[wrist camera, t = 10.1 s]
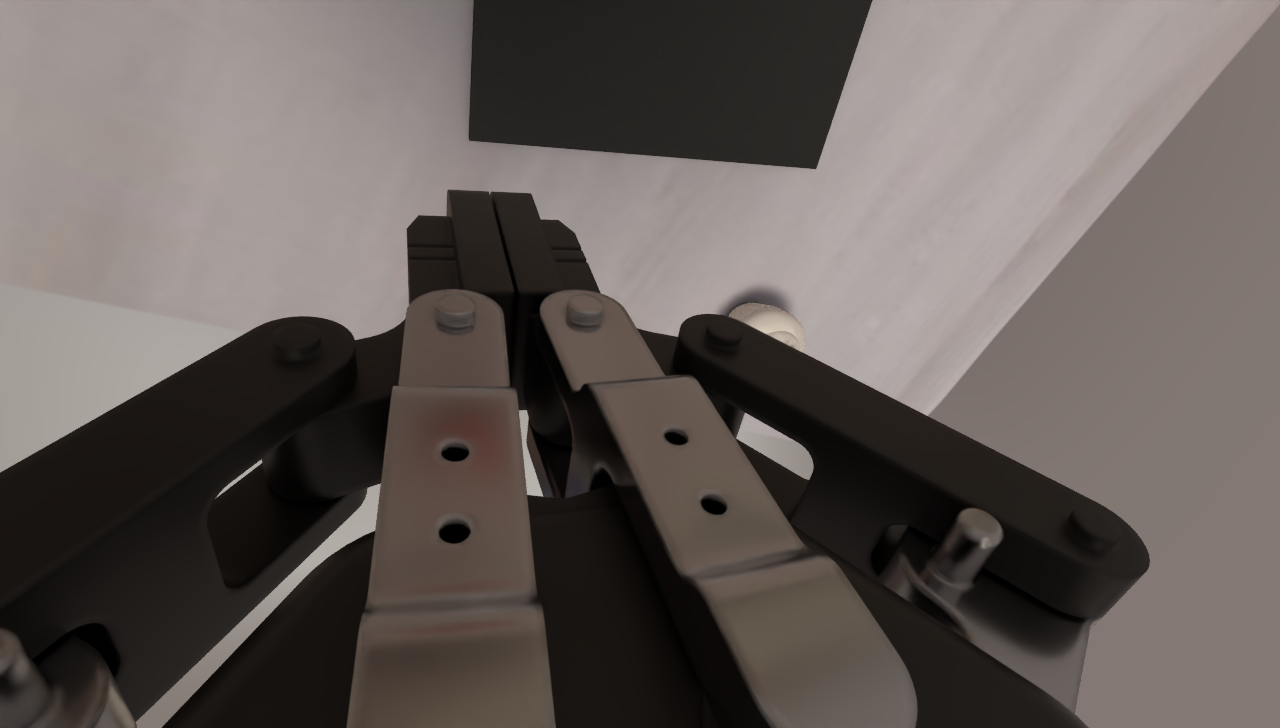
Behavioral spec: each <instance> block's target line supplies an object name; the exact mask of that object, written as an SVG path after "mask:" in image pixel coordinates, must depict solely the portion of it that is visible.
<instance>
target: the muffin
mask: <svg viewBox="0 0 1280 728" xmlns="http://www.w3.org/2000/svg"><path fill="white" fill-rule="evenodd" d="M727 317H731V318H734V319H737V320H739V321H741V322H744V323H746V324H747V325H749V326H751V327H753V328H755V329H757V330H759V331H761V332H763V333H765V334H767V335H769V336H771V337H773V338H775V339H777V340H779V341H781V342H783V343H785V344H787V345H789V346H791V347H793V348H795V349H797V350H799V351H800V352H803V349H804V346H805V334H804V330H803V327H802V325H801V323H800V322H799V321H798V319H797V318H795V317H794V316H793V315H791V314H790V313H788V312H786V311H783V309H779V308H778V307H775V306H770V305H764V304H759V303H754V302H752V303H749V302H748V303H747V304H744V303H743V304H742V305H739V306H738V307H735V309H734V310H732V312H731V313H729V316H727Z"/></svg>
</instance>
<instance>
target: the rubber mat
mask: <svg viewBox="0 0 1280 728" xmlns="http://www.w3.org/2000/svg"><path fill="white" fill-rule="evenodd" d="M871 3H872V0H474V10H473V37H472V64H471V90H470V117H469V140H470V141H481V142H493V143H505V144H517V145H529V146H542V147H554V148H566V149H578V150H590V151H603V152H615V153H627V154H639V155H652V156H664V157H676V158H688V159H700V160H713V161H725V162H737V163H749V164H761V165H774V166H786V167H798V168H810V169H816V168H817V165H818V162H819V159H820V156H821V153H822V150H823V147H824V144H825V141H826V138H827V135H828V132H829V129H830V126H831V123H832V120H833V117H834V114H835V111H836V108H837V105H838V102H839V99H840V96H841V93H842V90H843V87H844V84H845V81H846V78H847V75H848V72H849V69H850V66H851V63H852V60H853V57H854V54H855V51H856V48H857V45H858V42H859V39H860V36H861V33H862V30H863V27H864V24H865V21H866V18H867V15H868V12H869V9H870V6H871Z"/></svg>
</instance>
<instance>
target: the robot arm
mask: <svg viewBox="0 0 1280 728" xmlns="http://www.w3.org/2000/svg"><path fill="white" fill-rule="evenodd" d="M407 251H408V287H409V306H408V308H407V312H406V318H405V320H404V321H403V322H402V323H401V324H399V325H398V326H396V327H395V328H393V329H391V330H389V331H387V332H385V333H382V334H380V335H376V336H373V337H369V338H364V339H359V340H354V337H353V335H352V333H351V332H350V331H349V330H348V329H347V328H345V327H344V326H343V325H341V324H339V323H337V322H334V321H331V320H328V319H324V318H318V317H305V316H299V317H288V318H282V319H278V320H274V321H270V322H268V323H265V324H262V325H260V326H258V327H256V328H254V329H252V330H251V331H249V332H247V333H245V334H244V335H242V336H240V337H238V338H237V339H235V340H233V341H231V342H230V343H228V344H226V345H224V346H223V347H221V348H219V349H217V350H215V351H214V352H212V353H210V354H209V355H207V356H205V357H203V358H201V359H200V360H198V361H196V362H194V363H193V364H191V365H189V366H187V367H185V368H184V369H182V370H180V371H178V372H177V373H175V374H173V375H171V376H170V377H168V378H166V379H164V380H163V381H161V382H159V383H157V384H156V385H154V386H152V387H150V388H149V389H147V390H145V391H143V392H141V393H140V394H138V395H136V396H134V397H133V398H131V399H129V400H127V401H126V402H124V403H122V404H121V405H119V406H117V407H115V408H113V409H112V410H110V411H108V412H106V413H105V414H103V415H101V416H99V417H98V418H96V419H94V420H92V421H91V422H89V423H87V424H85V425H84V426H82V427H80V428H78V429H76V430H75V431H73V432H72V433H69V434H68V435H66V436H65V437H62V438H60V439H59V440H57V441H55V442H53V443H52V444H50V445H48V446H46V447H45V448H43V449H41V450H39V451H38V452H36V453H34V454H32V455H31V456H29V457H27V458H25V459H24V460H22V461H20V462H18V463H16V464H15V465H13V466H11V467H9V468H8V469H6V470H4V471H2V472H1V473H0V728H137V725H136V721H137V720H138V719H139V718H140V717H141V716H142V715H143V714H145V712H147V711H148V710H149V709H150V708H151V707H152V706H153V705H154V704H155V703H156V702H157V701H158V700H159V699H160V698H161V697H162V696H163V695H164V694H165V693H166V692H167V691H169V690H170V688H172V687H173V686H174V685H175V684H176V683H177V682H178V681H179V680H180V679H181V678H182V677H183V676H184V675H185V674H186V673H187V672H188V671H189V670H190V669H191V668H192V667H194V665H196V664H197V663H198V661H200V660H201V659H202V658H203V657H204V656H205V655H206V654H207V653H208V652H209V651H210V650H211V649H212V648H213V647H214V646H215V645H216V644H218V643H219V641H221V640H222V639H223V638H224V637H225V636H226V635H227V634H228V633H229V632H230V631H231V630H232V629H233V628H234V627H235V626H236V625H237V624H238V623H239V622H240V621H242V620H243V619H244V618H245V617H246V616H247V615H248V614H249V613H250V612H251V611H252V610H253V609H254V608H255V607H256V606H257V605H258V604H259V603H260V602H261V601H262V600H263V599H264V598H265V597H267V596H268V595H269V594H270V593H271V592H272V591H273V590H274V589H275V588H276V587H277V586H278V585H279V584H280V583H281V582H282V581H283V580H284V579H285V578H286V577H287V576H288V575H289V574H291V573H292V572H293V571H294V570H295V569H296V568H297V567H298V566H299V565H300V564H301V563H302V562H303V561H304V560H305V559H306V558H307V557H308V556H309V555H310V554H311V553H312V552H313V551H314V550H316V549H317V548H318V547H319V546H320V545H321V544H322V543H323V542H324V541H325V540H326V539H327V538H328V537H329V536H330V535H331V534H332V533H333V532H334V531H335V530H336V529H337V528H338V527H339V526H340V525H342V524H343V523H344V522H345V521H346V520H347V519H348V518H349V517H350V516H351V515H352V514H353V513H354V512H355V511H356V510H357V509H358V508H359V507H360V506H361V504H362V503H363V501H364V499H365V497H366V494H367V488H368V487H371V486H373V485H377V484H380V483H381V487H380V496H379V505H378V513H377V521H376V530H375V531H374V532H371V533H369V534H366V535H364V536H362V537H361V538H359V539H357V540H355V541H353V542H352V543H349V544H347V545H346V546H345V547H343V548H341V549H340V550H339V551H337V552H335V553H334V554H332V555H331V556H330V557H328V558H327V559H326V560H324V561H323V562H322V563H321V564H320V565H318V566H317V567H316V568H315V569H314V570H313V571H311V572H310V573H309V574H308V575H307V576H306V577H305V578H304V579H303V580H302V582H300V583H299V585H298V586H296V588H295V589H294V590H293V591H292V592H291V593H290V594H289V595H288V596H287V597H286V598H285V599H284V600H283V601H282V602H281V603H280V604H279V605H278V607H277V608H275V610H274V611H273V612H272V613H271V614H270V615H269V616H268V617H267V618H266V619H265V620H264V621H263V622H262V623H261V624H260V625H259V626H258V628H256V630H254V632H253V633H252V634H251V635H250V636H249V637H248V638H247V639H246V640H245V641H244V642H243V643H242V644H241V645H240V646H239V647H238V648H237V649H236V650H235V651H234V652H233V654H232V655H231V656H230V657H229V658H228V659H227V660H226V661H225V662H224V663H223V664H222V665H221V666H220V667H219V668H218V669H217V670H216V671H215V672H214V674H212V675H211V677H210V678H209V679H208V680H207V681H206V682H205V683H204V684H203V685H202V686H201V687H200V688H199V689H198V690H197V691H196V692H195V693H194V694H193V695H192V696H191V697H190V699H189V700H188V701H187V702H186V703H185V704H184V705H183V706H182V707H181V708H180V709H179V710H178V711H177V712H176V713H175V714H174V715H173V717H171V719H169V720H168V722H167V723H166V724H165V725H164V726H163V727H162V728H1088V727H1087V726H1086V725H1085V724H1084V723H1083V722H1082V721H1081V720H1080V719H1079V718H1078V717H1077V716H1076V715H1075V714H1074V713H1075V708H1076V703H1077V697H1078V692H1079V686H1080V681H1081V675H1082V669H1083V664H1084V659H1085V653H1086V648H1087V642H1088V637H1089V631H1090V630H1091V629H1092V628H1093V627H1094V626H1095V625H1096V623H1097V622H1098V621H1099V620H1100V619H1101V618H1102V617H1103V616H1104V615H1105V614H1106V613H1107V612H1108V611H1109V610H1110V609H1111V608H1112V607H1113V606H1114V605H1115V604H1116V603H1117V602H1118V600H1119V599H1120V598H1121V597H1122V596H1123V595H1124V594H1125V593H1126V592H1127V591H1128V590H1129V589H1130V588H1131V587H1132V586H1133V585H1134V584H1135V582H1137V580H1139V578H1140V577H1141V576H1142V575H1143V574H1144V573H1145V572H1146V571H1147V569H1148V567H1149V563H1150V559H1149V554H1148V551H1147V549H1146V546H1145V545H1144V543H1143V542H1142V540H1141V538H1140V537H1139V536H1138V534H1137V533H1136V532H1135V531H1134V530H1133V529H1132V528H1131V527H1130V526H1129V525H1128V524H1127V523H1126V522H1125V521H1124V520H1122V519H1121V518H1120V517H1119V516H1117V515H1116V514H1115V513H1113V512H1112V511H1110V510H1109V509H1107V508H1106V507H1104V506H1102V505H1101V504H1099V503H1097V502H1095V501H1093V500H1091V499H1089V498H1087V497H1085V496H1083V495H1081V494H1079V493H1077V492H1075V491H1073V490H1071V489H1069V488H1067V487H1066V486H1064V485H1062V484H1060V483H1058V482H1056V481H1054V480H1052V479H1050V478H1048V477H1046V476H1044V475H1042V474H1040V473H1038V472H1036V471H1034V470H1032V469H1030V468H1028V467H1026V466H1024V465H1022V464H1020V463H1018V462H1016V461H1015V460H1012V459H1011V458H1009V457H1007V456H1005V455H1003V454H1000V453H998V452H997V451H995V450H993V449H991V448H989V447H987V446H985V445H983V444H981V443H979V442H977V441H975V440H973V439H971V438H969V437H967V436H965V435H963V434H961V433H959V432H958V431H956V430H954V429H951V428H950V427H948V426H946V425H944V424H942V423H940V422H938V421H936V420H934V419H932V418H930V417H928V416H926V415H924V414H922V413H920V412H918V411H916V410H914V409H912V408H910V407H908V406H907V405H905V404H903V403H901V402H899V401H897V400H895V399H893V398H891V397H889V396H887V395H885V394H883V393H881V392H879V391H877V390H875V389H873V388H871V387H869V386H867V385H865V384H863V383H861V382H859V381H857V380H855V379H854V378H852V377H850V376H848V375H846V374H844V373H842V372H840V371H838V370H836V369H834V368H832V367H830V366H828V365H826V364H824V363H822V362H820V361H818V360H816V359H814V358H812V357H810V356H808V355H806V354H804V353H802V352H800V351H799V350H797V349H795V348H793V347H791V346H789V345H787V344H785V343H783V342H781V341H779V340H777V339H775V338H773V337H771V336H769V335H767V334H765V333H763V332H761V331H759V330H757V329H755V328H753V327H751V326H749V325H747V324H746V323H744V322H741V321H739V320H737V319H734V318H731V317H727V316H723V315H717V314H701V315H696V316H693V317H690V318H688V319H686V320H685V321H684V322H683V323H682V325H681V327H680V331H679V335H678V337H675V336H669V335H664V334H659V333H653V332H648V331H644V330H641V329H638V328H636V326H635V325H634V323H633V321H632V320H631V318H630V316H629V315H628V313H627V311H626V310H625V308H624V307H623V306H622V305H621V304H620V303H618V302H617V301H616V300H614V299H612V298H610V297H608V296H606V295H603V294H601V293H600V291H599V288H598V286H597V284H596V281H595V279H594V277H593V274H592V272H591V270H590V267H589V265H588V263H586V258H585V256H584V253H583V251H581V246H580V244H579V242H578V239H577V237H576V235H575V233H574V232H573V231H571V230H570V229H569V228H568V227H566V226H565V225H564V224H563V223H561V222H560V221H559V220H541V219H540V217H539V214H538V211H537V208H536V205H535V203H534V200H533V197H532V195H531V194H530V193H509V192H491V193H490V195H489V192H485V191H464V190H448V191H447V216H421V215H419V216H418V217H417V218H416V219H415V220H414V221H413V222H412V223H411V225H410V226H409V227H408V228H407ZM519 410H527V412H528V416H529V422H528V432H527V447H528V450H529V453H530V457H531V460H532V462H533V466H534V469H535V472H536V475H537V478H538V481H539V484H540V487H541V490H542V493H543V497H541V496H531V495H527V490H526V479H525V470H524V459H523V449H522V439H521V429H520V419H519ZM744 413H747V414H749V415H751V416H752V417H754V418H756V419H758V420H759V421H761V422H763V423H765V424H766V425H768V426H770V427H772V428H774V429H775V430H777V431H779V432H781V433H782V434H784V435H786V436H788V437H789V438H791V439H793V440H795V441H796V442H798V443H800V444H801V445H802V446H804V447H805V448H806V450H807V451H808V452H809V454H810V455H811V457H812V460H813V464H814V469H813V473H812V475H811V478H810V480H806V479H804V478H802V477H800V476H798V475H797V474H795V473H793V472H791V471H790V470H788V469H787V468H785V467H783V466H782V465H780V464H778V463H776V462H774V461H773V460H771V459H770V458H768V457H766V456H765V455H763V454H761V453H759V452H758V451H756V450H754V449H753V448H751V447H749V446H747V445H746V444H744V443H742V442H741V441H739V440H737V439H736V437H737V434H738V431H739V428H740V425H741V422H742V419H743V416H744ZM261 459H262V464H260V465H259V466H258V467H256V468H255V469H254V470H253V471H251V472H250V473H249V474H247V475H246V476H245V477H243V478H242V479H241V480H239V481H238V482H237V483H236V484H234V485H233V486H232V487H230V488H229V489H228V490H226V491H225V492H224V493H222V494H221V495H220V496H219V497H217V495H218V494H219V493H220V492H221V491H222V489H223V488H224V487H226V486H227V485H228V484H229V483H230V482H232V481H233V480H234V479H236V478H237V477H238V476H240V475H241V474H242V473H244V472H245V471H246V470H248V469H249V468H250V467H252V466H253V465H254V464H256V463H257V462H258V461H259V460H261ZM216 497H217V498H216ZM215 498H216V499H215Z"/></svg>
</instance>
